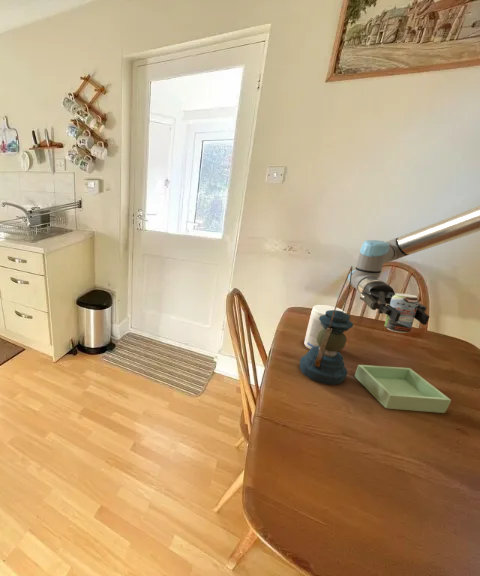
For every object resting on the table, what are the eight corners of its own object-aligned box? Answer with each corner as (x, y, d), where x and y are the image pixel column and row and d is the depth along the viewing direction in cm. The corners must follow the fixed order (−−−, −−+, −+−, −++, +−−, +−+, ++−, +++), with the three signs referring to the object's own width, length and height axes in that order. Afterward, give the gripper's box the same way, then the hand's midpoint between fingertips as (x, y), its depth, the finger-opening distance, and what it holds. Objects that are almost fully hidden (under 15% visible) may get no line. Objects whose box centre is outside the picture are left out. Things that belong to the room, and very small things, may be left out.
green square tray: (404, 380, 93) (409, 367, 91) (444, 414, 80) (451, 400, 79) (353, 377, 95) (358, 364, 93) (385, 409, 82) (390, 395, 81)
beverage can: (390, 334, 96) (403, 299, 91) (376, 323, 102) (388, 289, 98) (415, 337, 94) (429, 300, 90) (399, 325, 101) (412, 291, 96)
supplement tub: (342, 356, 105) (354, 317, 100) (312, 355, 106) (323, 316, 101) (325, 341, 114) (335, 304, 109) (298, 340, 115) (307, 304, 110)
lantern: (336, 394, 88) (373, 277, 75) (290, 374, 97) (317, 267, 84) (350, 373, 96) (386, 265, 84) (307, 357, 105) (334, 257, 92)
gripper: (405, 303, 110) (448, 335, 89) (341, 297, 116) (368, 325, 95) (412, 283, 107) (459, 311, 87) (346, 278, 113) (376, 303, 93)
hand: (411, 318), depth 91 cm, fingers closed on beverage can, 6 cm apart
